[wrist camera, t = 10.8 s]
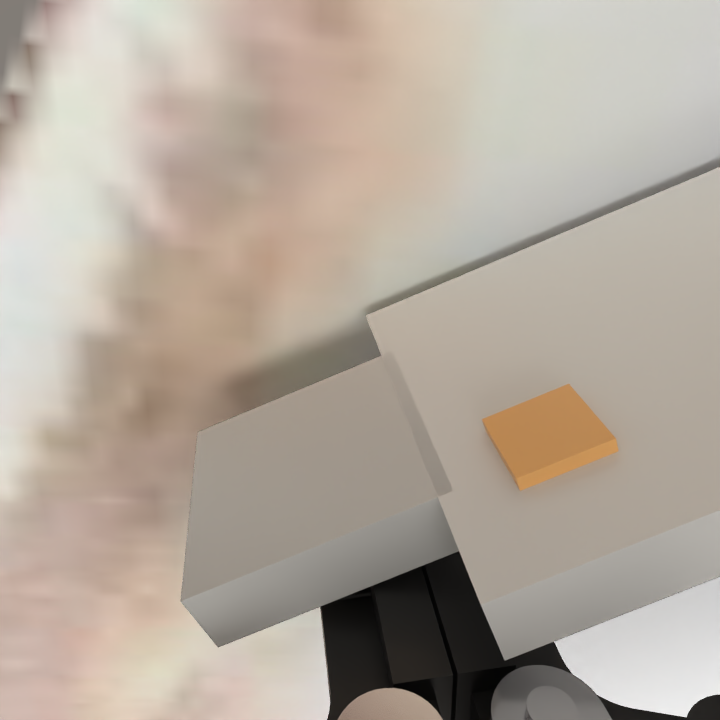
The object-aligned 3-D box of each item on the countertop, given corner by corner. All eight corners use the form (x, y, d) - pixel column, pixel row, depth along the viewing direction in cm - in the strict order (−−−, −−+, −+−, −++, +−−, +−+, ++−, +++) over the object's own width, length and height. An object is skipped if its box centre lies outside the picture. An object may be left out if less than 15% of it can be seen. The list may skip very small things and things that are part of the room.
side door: (900, 80, 12) (1568, 158, 6) (895, 148, 12) (1491, 281, 6) (197, 376, 12) (157, 719, 6) (228, 426, 13) (217, 777, 7)
